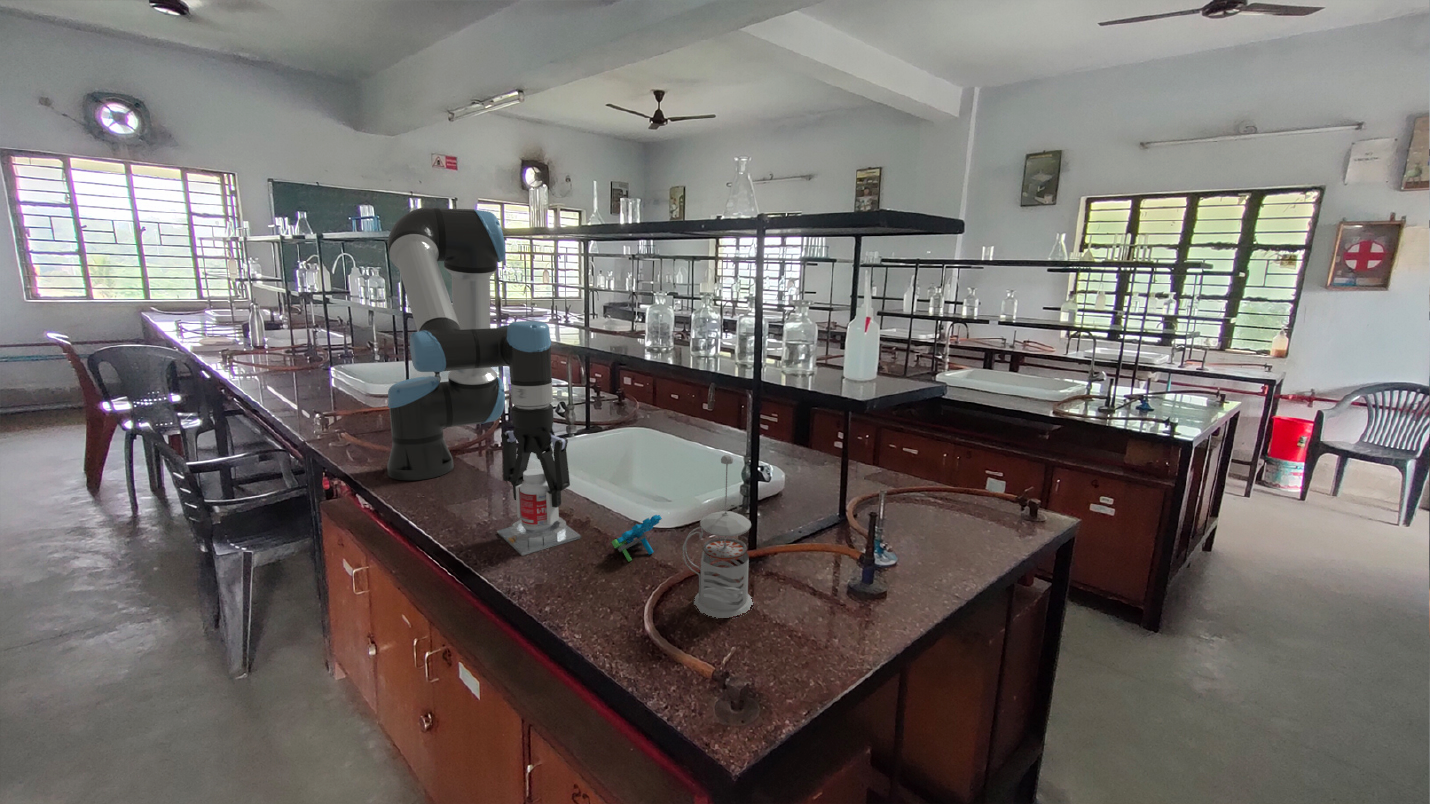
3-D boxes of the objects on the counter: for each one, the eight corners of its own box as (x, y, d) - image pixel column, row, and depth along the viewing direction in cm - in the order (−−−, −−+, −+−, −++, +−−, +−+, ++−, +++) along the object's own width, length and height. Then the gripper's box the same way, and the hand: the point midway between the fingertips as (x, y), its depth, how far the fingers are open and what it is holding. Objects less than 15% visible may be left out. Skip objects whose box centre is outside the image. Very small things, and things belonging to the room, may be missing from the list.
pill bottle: (539, 534, 119) (536, 479, 117) (515, 527, 122) (511, 474, 119) (560, 522, 125) (558, 469, 122) (537, 516, 127) (534, 464, 125)
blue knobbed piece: (646, 526, 125) (665, 505, 118) (662, 551, 124) (682, 531, 116) (600, 550, 118) (617, 529, 111) (616, 577, 116) (635, 558, 109)
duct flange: (497, 533, 124) (497, 523, 124) (554, 518, 132) (553, 508, 131) (521, 555, 115) (521, 545, 115) (580, 538, 123) (580, 528, 122)
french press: (750, 622, 96) (755, 468, 90) (676, 614, 98) (677, 462, 92) (756, 589, 105) (762, 447, 100) (689, 582, 107) (690, 443, 101)
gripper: (477, 403, 117) (485, 517, 123) (564, 414, 111) (569, 534, 116) (503, 395, 124) (510, 504, 130) (587, 405, 118) (590, 519, 123)
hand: (538, 518), depth 123 cm, fingers open, 6 cm apart
